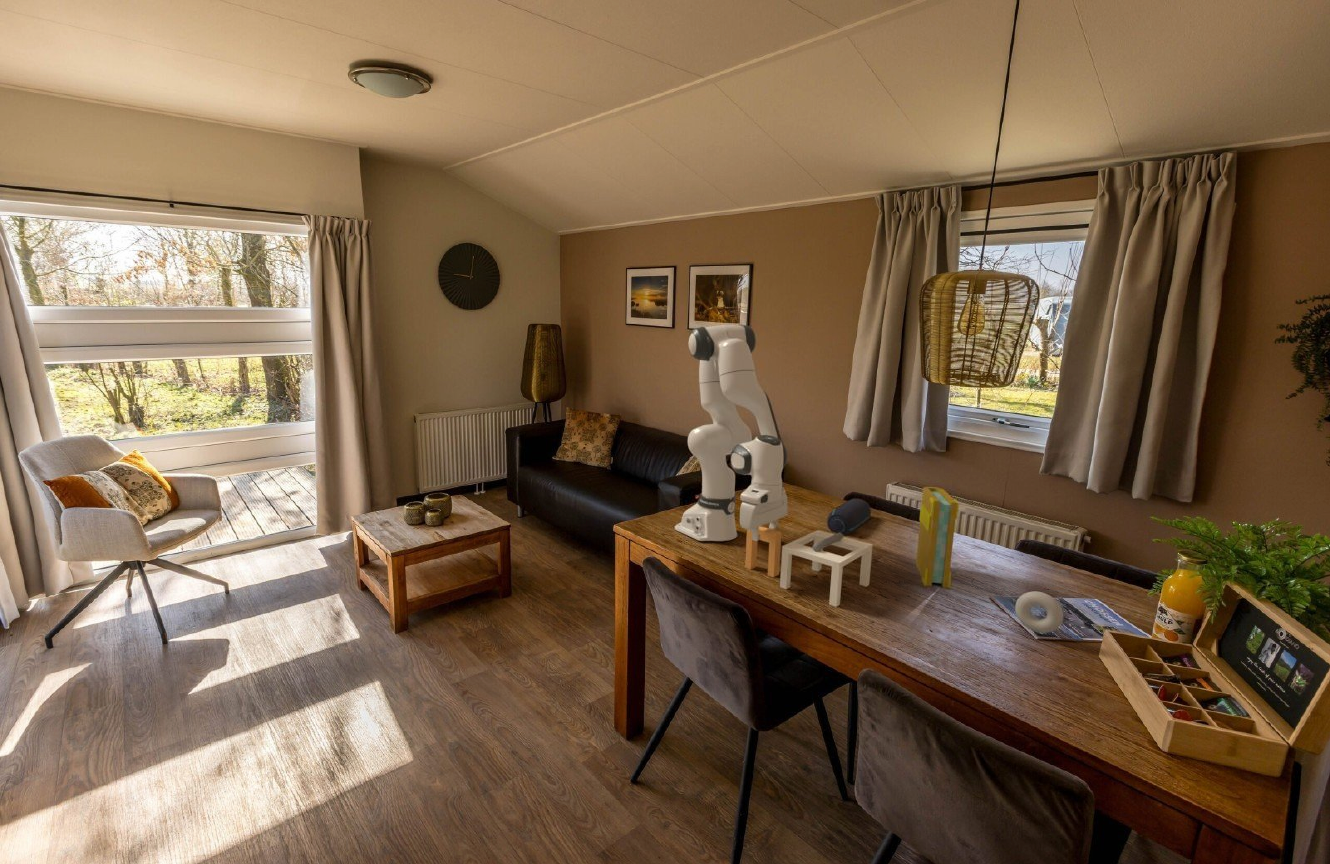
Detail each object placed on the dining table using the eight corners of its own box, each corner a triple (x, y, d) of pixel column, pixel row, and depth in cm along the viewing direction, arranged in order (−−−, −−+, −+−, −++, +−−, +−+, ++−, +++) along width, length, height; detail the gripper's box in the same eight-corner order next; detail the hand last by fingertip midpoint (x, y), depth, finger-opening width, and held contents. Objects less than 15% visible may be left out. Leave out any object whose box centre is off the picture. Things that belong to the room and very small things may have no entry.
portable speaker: (846, 519, 230) (848, 494, 228) (872, 524, 224) (874, 498, 223) (822, 535, 210) (824, 508, 208) (850, 542, 204) (852, 514, 202)
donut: (1061, 635, 142) (1067, 596, 140) (1059, 641, 139) (1064, 601, 138) (1014, 621, 149) (1019, 584, 147) (1011, 626, 146) (1016, 588, 144)
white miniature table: (779, 587, 166) (782, 539, 163) (815, 567, 180) (818, 523, 178) (836, 606, 154) (840, 555, 152) (869, 584, 169) (873, 537, 167)
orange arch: (745, 567, 179) (747, 526, 177) (750, 564, 181) (752, 524, 179) (773, 577, 172) (775, 534, 170) (778, 574, 174) (781, 532, 172)
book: (949, 588, 168) (959, 502, 164) (924, 585, 169) (933, 500, 165) (935, 565, 184) (943, 487, 180) (912, 563, 186) (919, 486, 182)
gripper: (776, 483, 182) (773, 526, 185) (736, 495, 168) (734, 542, 170) (794, 487, 178) (791, 531, 180) (755, 500, 163) (753, 548, 166)
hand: (763, 536), depth 175 cm, fingers open, 6 cm apart
